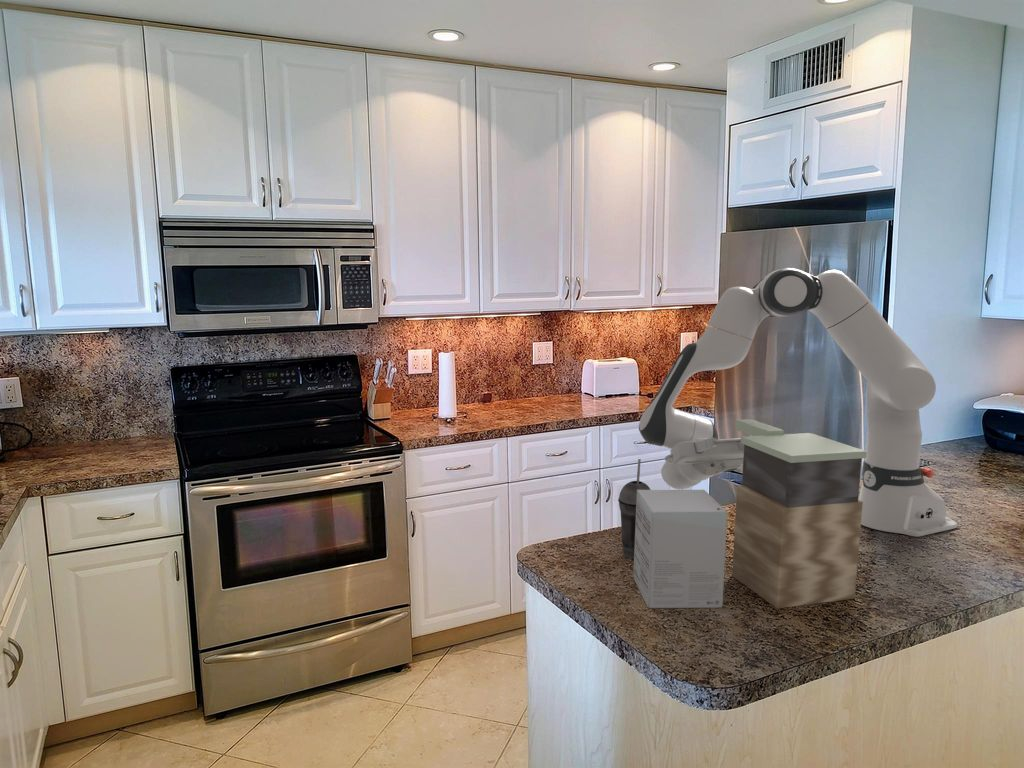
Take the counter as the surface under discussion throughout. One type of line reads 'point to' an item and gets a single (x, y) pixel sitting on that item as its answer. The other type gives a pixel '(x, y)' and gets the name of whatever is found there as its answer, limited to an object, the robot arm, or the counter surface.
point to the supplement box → (679, 549)
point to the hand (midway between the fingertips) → (733, 440)
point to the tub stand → (797, 529)
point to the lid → (794, 444)
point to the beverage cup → (630, 513)
